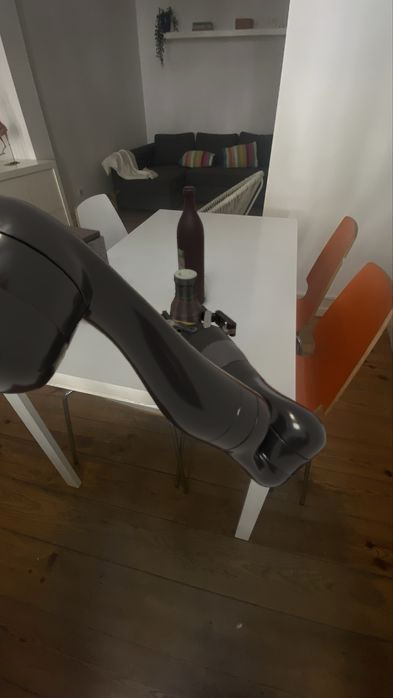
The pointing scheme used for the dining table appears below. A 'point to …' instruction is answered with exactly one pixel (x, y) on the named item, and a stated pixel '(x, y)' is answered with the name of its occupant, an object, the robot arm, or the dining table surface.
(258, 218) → the dining table surface
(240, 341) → the dining table surface
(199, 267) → the wine bottle
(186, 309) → the sauce bottle
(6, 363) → the robot arm
